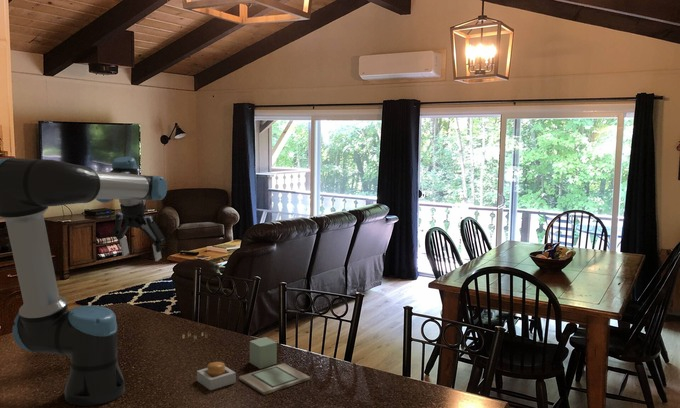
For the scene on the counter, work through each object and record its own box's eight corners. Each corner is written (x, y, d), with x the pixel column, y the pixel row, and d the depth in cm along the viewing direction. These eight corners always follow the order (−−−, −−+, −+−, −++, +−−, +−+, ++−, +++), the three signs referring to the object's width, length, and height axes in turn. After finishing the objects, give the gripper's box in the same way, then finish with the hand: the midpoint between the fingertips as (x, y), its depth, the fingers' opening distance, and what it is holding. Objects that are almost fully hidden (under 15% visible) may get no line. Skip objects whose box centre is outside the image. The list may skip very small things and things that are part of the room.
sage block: (260, 368, 175) (260, 346, 174) (249, 362, 179) (249, 341, 178) (276, 364, 179) (276, 342, 178) (265, 358, 183) (265, 337, 182)
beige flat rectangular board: (264, 394, 157) (264, 391, 157) (239, 379, 167) (239, 376, 167) (309, 379, 168) (310, 376, 168) (283, 365, 177) (283, 362, 177)
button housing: (210, 390, 159) (210, 380, 159) (196, 380, 165) (196, 370, 165) (235, 382, 164) (235, 372, 164) (221, 373, 170) (221, 363, 170)
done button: (212, 380, 161) (212, 369, 161) (204, 374, 165) (204, 364, 164) (227, 375, 164) (227, 365, 164) (219, 370, 168) (219, 360, 168)
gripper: (169, 201, 194) (178, 256, 202) (108, 194, 201) (119, 247, 210) (156, 209, 187) (166, 266, 196) (93, 202, 195) (105, 257, 203)
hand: (142, 257), depth 203 cm, fingers open, 13 cm apart
